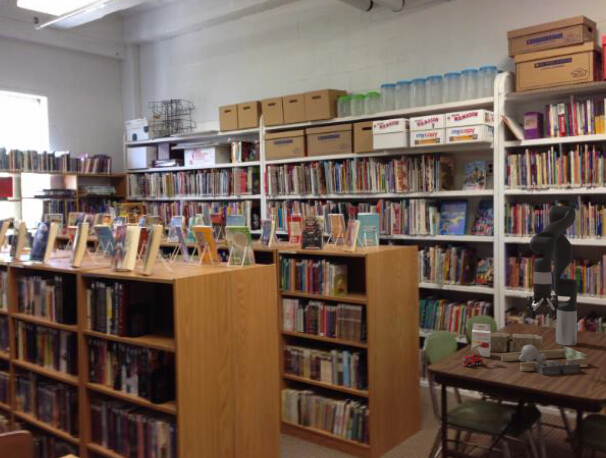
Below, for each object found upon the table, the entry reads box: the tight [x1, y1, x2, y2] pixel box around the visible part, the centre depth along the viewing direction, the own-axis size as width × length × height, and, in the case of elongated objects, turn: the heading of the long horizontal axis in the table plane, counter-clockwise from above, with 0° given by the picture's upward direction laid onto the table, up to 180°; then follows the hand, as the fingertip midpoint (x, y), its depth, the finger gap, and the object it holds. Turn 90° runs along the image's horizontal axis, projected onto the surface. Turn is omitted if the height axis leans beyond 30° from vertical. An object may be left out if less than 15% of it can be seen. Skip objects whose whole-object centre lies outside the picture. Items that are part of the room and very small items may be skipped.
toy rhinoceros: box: [518, 345, 550, 366], centre depth 264 cm, size 7×12×8 cm, turn 58°
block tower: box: [490, 332, 544, 353], centre depth 290 cm, size 8×8×29 cm
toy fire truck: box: [461, 342, 489, 368], centre depth 266 cm, size 3×14×10 cm, turn 117°
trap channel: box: [500, 345, 589, 376], centre depth 262 cm, size 24×32×5 cm
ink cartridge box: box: [471, 323, 492, 358], centre depth 281 cm, size 9×5×15 cm, turn 71°
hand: (542, 318), depth 260 cm, fingers open, 8 cm apart
